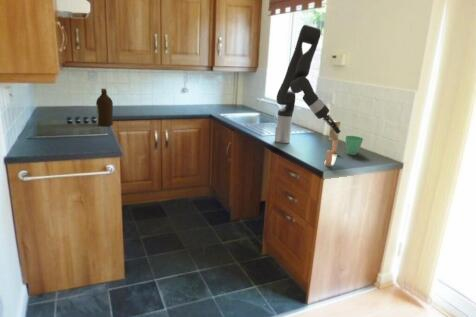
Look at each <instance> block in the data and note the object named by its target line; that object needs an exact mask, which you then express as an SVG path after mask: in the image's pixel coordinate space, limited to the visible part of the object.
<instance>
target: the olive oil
mask: <svg viewBox="0 0 476 317" xmlns="http://www.w3.org/2000/svg"><path fill="white" fill-rule="evenodd" d="M100 92H101V94H100V95H99V97H98V98H97V99H96V102H95V103H96V115H97V125H98V126H99V127H111V126H113V125H114V124H113V120H114V119H113V115H114V114H113V112H114V111H113V108H114V107H113V104H114V103H113V100H112V98H111V97H110V96H109V95H108V92H107V88H101V91H100Z"/></svg>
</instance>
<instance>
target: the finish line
mask: <svg viewBox="0 0 476 317" xmlns="http://www.w3.org/2000/svg"><path fill="white" fill-rule="evenodd" d="M338 144H339V139H338V140H337V141H333V140H332V144H331V150H330V149H329V150H327V151H326V156H325V161H324V163H323V165H324V166H325V167H328V168H329V167H332V166H334V165H335V162H336V160H337V157H338V154H337V151H338Z"/></svg>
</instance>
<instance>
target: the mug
mask: <svg viewBox="0 0 476 317" xmlns="http://www.w3.org/2000/svg"><path fill="white" fill-rule="evenodd" d="M363 141H364V138H363V137H361V136H356V135H346V136H345V148H346V149H345V150H346V152H347V155H349V156H355V155H357V154H358V152H359V150H360V148H361V146H362V143H363Z"/></svg>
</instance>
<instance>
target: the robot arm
mask: <svg viewBox="0 0 476 317" xmlns="http://www.w3.org/2000/svg"><path fill="white" fill-rule="evenodd" d="M321 31H322V29H320V28H318V27H315V26H312V25H309V24H303V26H302V27H301V29H300V31H299V34H298V37H297V41H296V45H295V48H294V51H293V54H292V56H291V58H290V62H289V63H288V67H287V70H286V73H285V76H284V77H283V81H282V83H281V84H280V87H279V89H278V91H277V94H276V103H277V104H278V105H281V106H284V107H283V108H281V109H279V110H278V111H277V120H276V121H277V122H276V127H275V133H274V134H275V135H274V142H276V143H281V144H289V143H291V142H290V141H291V132H292V121H293V113H294V110H295V103H296V94H299V93H301V92H303V96H302V100H303V101H304V103H305V105H307V106H308V108H309V109H310V111H311V112H312V113H313V115H314V116H315V117H316V118H317V119H318V120H321V119H322V120H323V122H325V123H326V125H328V126H329V127H330V126H331V127H332V129H334V130H335V132H336V133H337V134H338V133H339V134H340V133H341V132H342V131H341V129H339V128H338V127H337V125H336V124H335V123H334V121H335V120H334V119H333V118H332V116H331V115H330V114H329V112H330V109H329V107H328V106H327V105H326V103H325V102H324V101H323V100H322V99H321V98H320V97H319V96H318V95H317V94H316V93H315V91H314V89H313V86H312V84H311V82H310V80H309V79H308V78H307V77H308V75H309V73H310V70H311V67H312V66H311V64H312V61H313V58H314V55H315V53H316V50H317V48H318V45H319V41H320V38H321V34H322V32H321ZM303 44H308V45H311V46H310V47H309V48H308V50H307V51H306V52H303ZM333 124H334V126H332V125H333Z"/></svg>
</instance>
